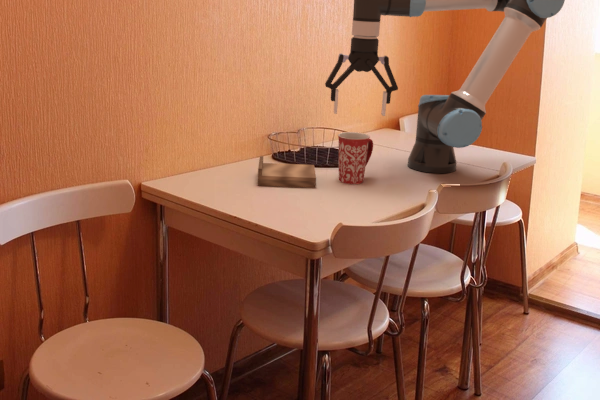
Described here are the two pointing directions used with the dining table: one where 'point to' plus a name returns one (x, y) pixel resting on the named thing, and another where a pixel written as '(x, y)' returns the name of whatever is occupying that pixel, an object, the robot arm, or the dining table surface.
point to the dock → (286, 175)
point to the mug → (353, 156)
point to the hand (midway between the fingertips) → (359, 114)
